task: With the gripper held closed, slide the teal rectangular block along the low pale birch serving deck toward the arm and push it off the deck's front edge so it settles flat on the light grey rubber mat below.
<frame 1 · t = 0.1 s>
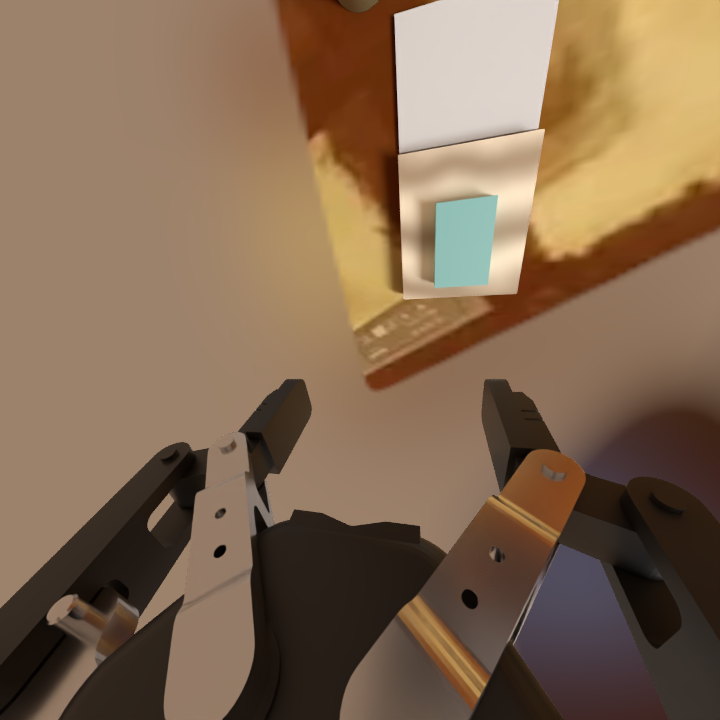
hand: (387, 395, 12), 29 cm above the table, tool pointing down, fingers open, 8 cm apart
teal rectangular block: (460, 243, 32), point 2 cm above the table, touching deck
mat: (468, 75, 27), on the table
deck: (459, 227, 33), on the table
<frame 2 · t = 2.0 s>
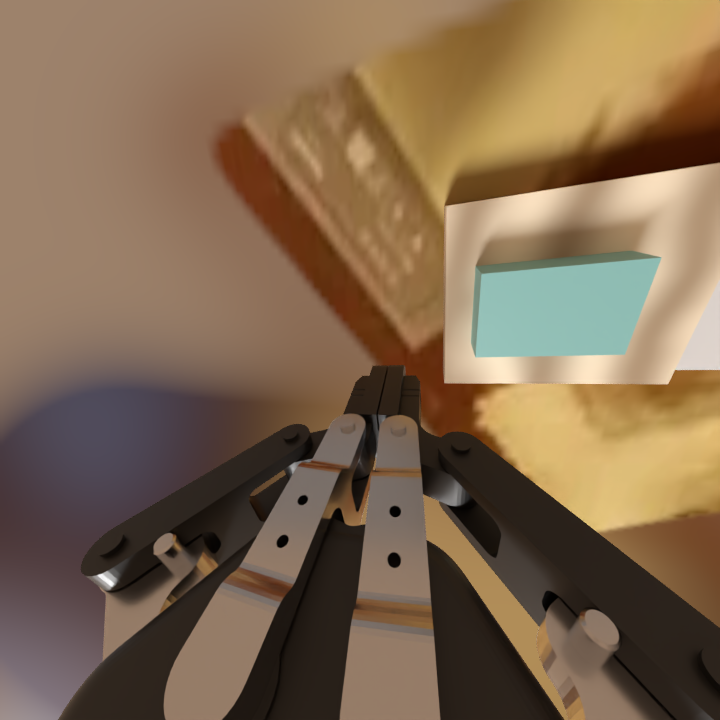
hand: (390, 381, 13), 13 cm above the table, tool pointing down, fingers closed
teal rectangular block: (540, 302, 19), point 2 cm above the table, touching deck
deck: (550, 291, 21), on the table
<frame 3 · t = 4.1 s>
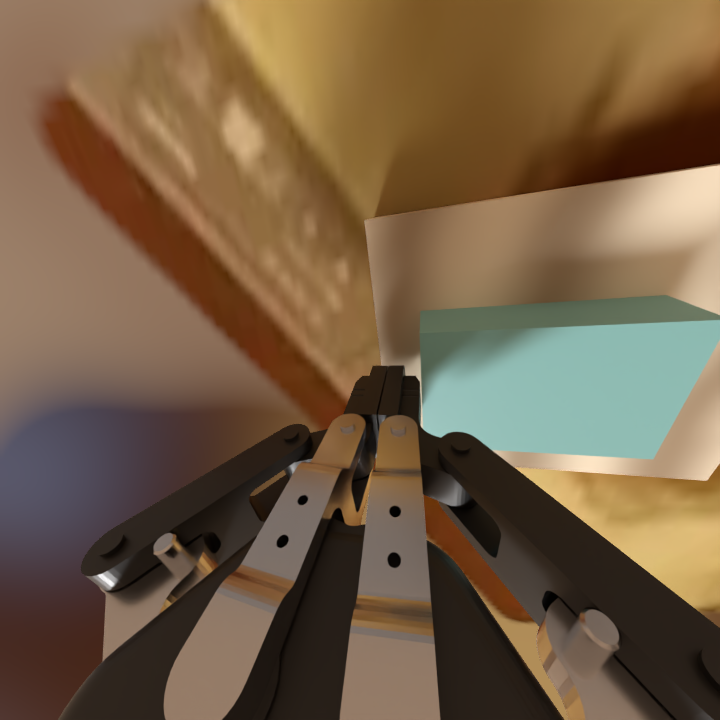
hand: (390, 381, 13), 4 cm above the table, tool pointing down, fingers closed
teal rectangular block: (520, 365, 13), point 3 cm above the table, touching gripper
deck: (535, 341, 14), on the table
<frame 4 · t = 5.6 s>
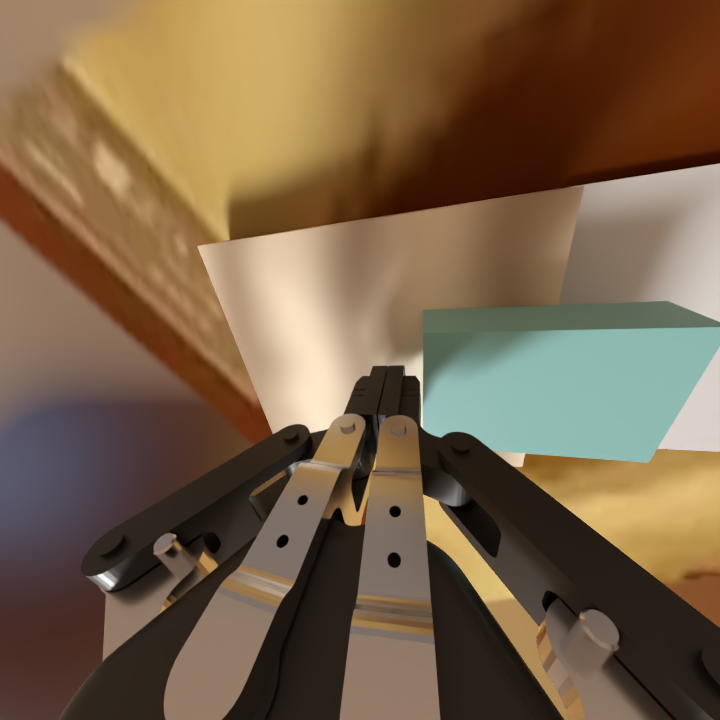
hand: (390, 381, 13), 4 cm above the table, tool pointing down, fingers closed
teal rectangular block: (520, 367, 13), point 3 cm above the table
mat: (658, 336, 13), on the table
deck: (381, 345, 16), on the table
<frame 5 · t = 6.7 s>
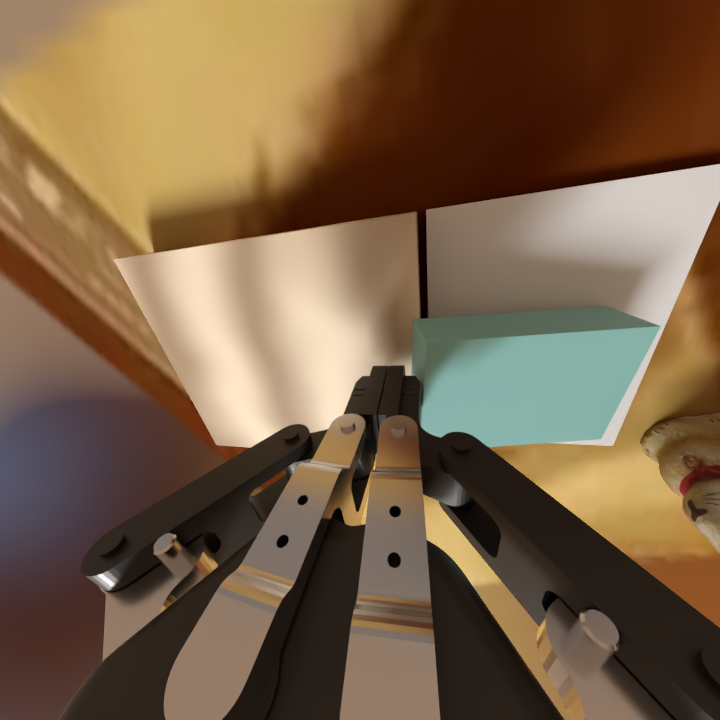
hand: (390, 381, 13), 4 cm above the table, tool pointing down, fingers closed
teal rectangular block: (497, 367, 14), point 2 cm above the table, tilted 14°, touching gripper
mat: (529, 340, 14), on the table
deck: (299, 348, 18), on the table
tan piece: (709, 441, 15), on the table
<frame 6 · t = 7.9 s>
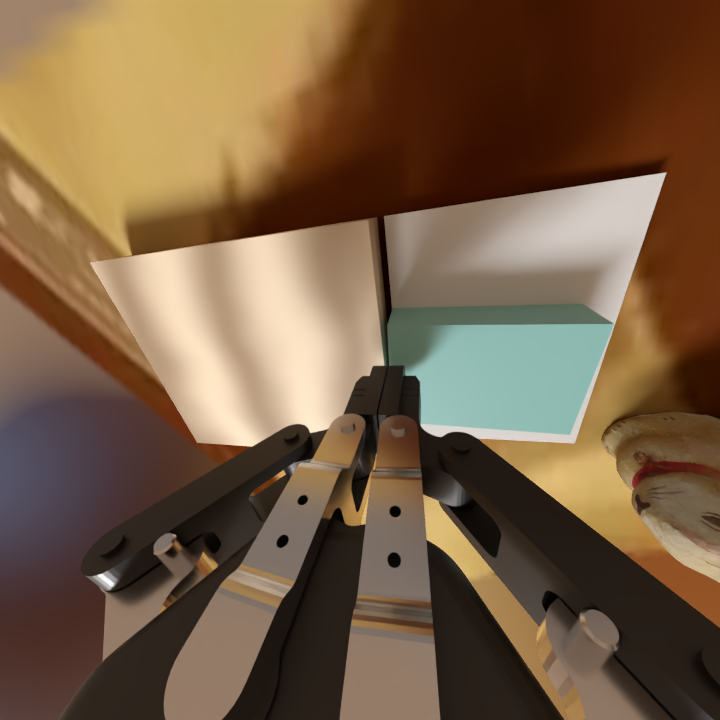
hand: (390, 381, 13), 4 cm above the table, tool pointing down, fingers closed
teal rectangular block: (473, 357, 15), resting on mat
mat: (490, 341, 15), on the table
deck: (274, 348, 18), on the table
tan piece: (666, 438, 16), on the table
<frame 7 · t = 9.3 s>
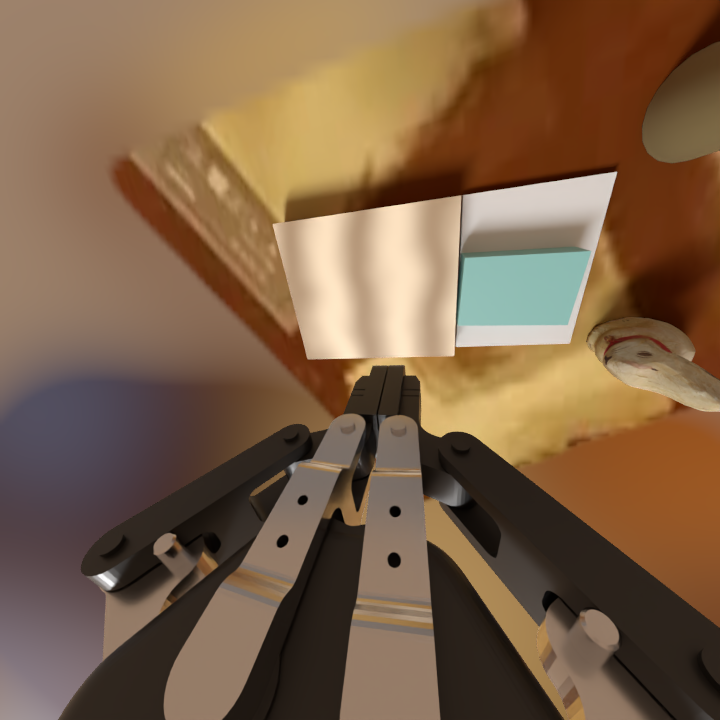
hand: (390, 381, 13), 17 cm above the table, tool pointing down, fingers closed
teal rectangular block: (509, 284, 25), resting on mat
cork: (697, 107, 18), on the table
mat: (519, 274, 24), on the table
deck: (372, 287, 28), on the table
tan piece: (625, 338, 26), on the table
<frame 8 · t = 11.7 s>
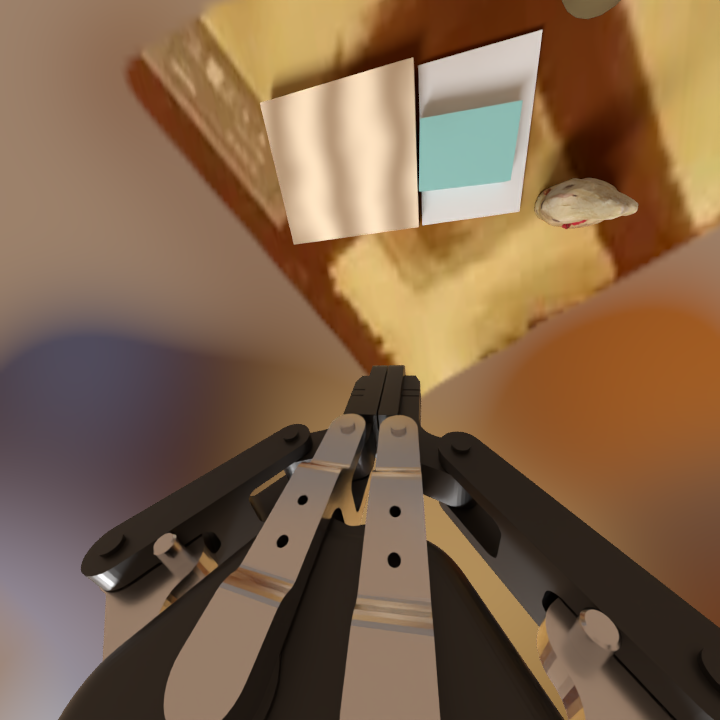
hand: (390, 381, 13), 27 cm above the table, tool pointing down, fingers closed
teal rectangular block: (462, 153, 28), resting on mat
mat: (471, 144, 28), on the table
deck: (348, 170, 32), on the table
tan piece: (568, 204, 29), on the table
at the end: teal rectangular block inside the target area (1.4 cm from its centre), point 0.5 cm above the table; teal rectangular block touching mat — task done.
